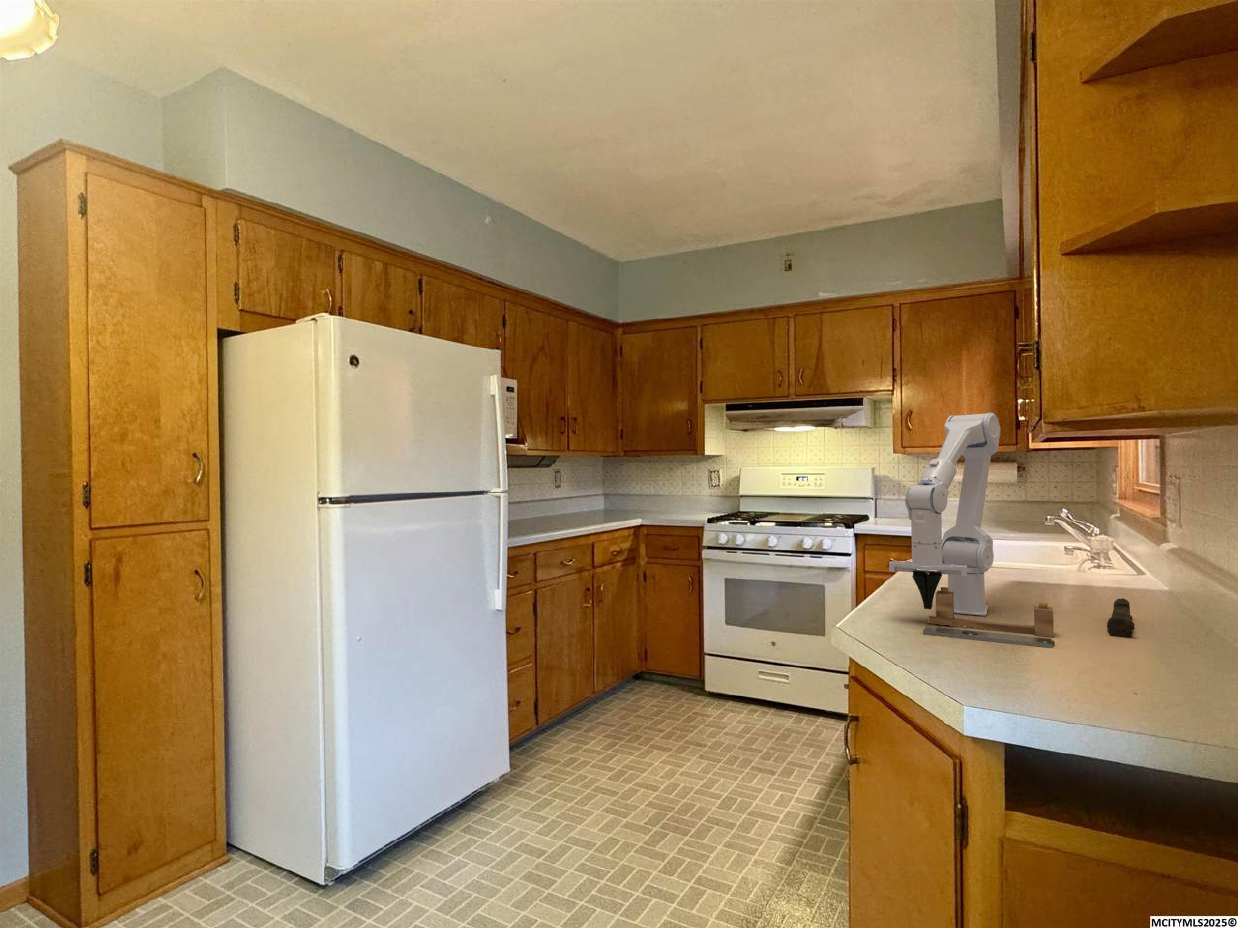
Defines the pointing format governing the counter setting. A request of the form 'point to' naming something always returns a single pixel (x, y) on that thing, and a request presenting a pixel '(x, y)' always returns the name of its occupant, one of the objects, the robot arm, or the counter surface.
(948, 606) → the sliding head
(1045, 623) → the bar
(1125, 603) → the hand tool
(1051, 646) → the steel strip
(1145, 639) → the counter surface
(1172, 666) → the counter surface
